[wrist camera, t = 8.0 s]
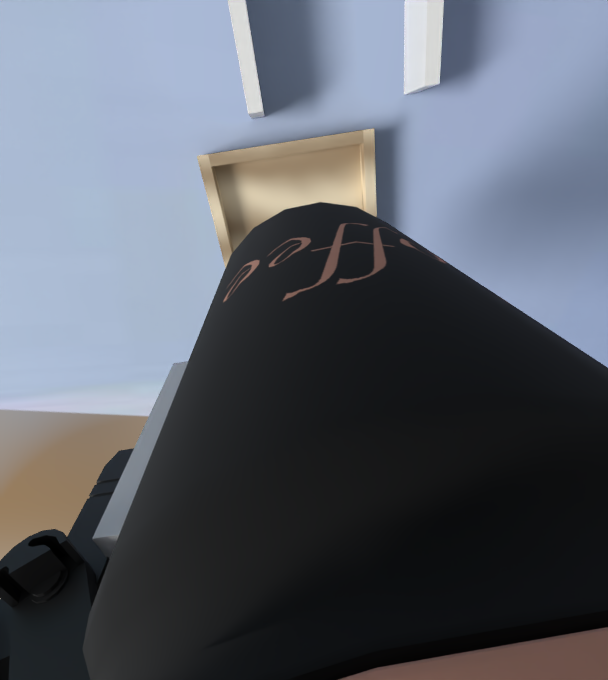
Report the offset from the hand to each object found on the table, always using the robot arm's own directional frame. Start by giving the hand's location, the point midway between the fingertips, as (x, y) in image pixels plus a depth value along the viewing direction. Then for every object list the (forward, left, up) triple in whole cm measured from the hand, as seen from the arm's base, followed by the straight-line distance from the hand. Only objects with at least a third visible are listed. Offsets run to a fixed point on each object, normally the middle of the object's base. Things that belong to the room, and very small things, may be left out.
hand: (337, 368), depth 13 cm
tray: (0, 0, -27) cm, 27 cm away
